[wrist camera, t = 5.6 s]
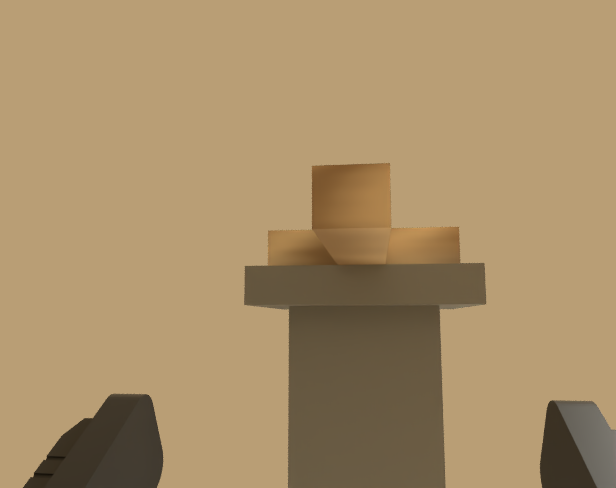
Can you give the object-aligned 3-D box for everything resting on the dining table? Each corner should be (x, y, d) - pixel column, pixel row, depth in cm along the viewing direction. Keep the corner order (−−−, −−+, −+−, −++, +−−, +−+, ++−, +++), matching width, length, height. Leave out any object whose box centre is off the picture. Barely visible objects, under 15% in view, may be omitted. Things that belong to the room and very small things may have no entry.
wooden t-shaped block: (192, 231, 17) (194, 170, 17) (295, 280, 39) (295, 253, 39) (522, 224, 16) (519, 158, 16) (438, 279, 37) (437, 251, 38)
